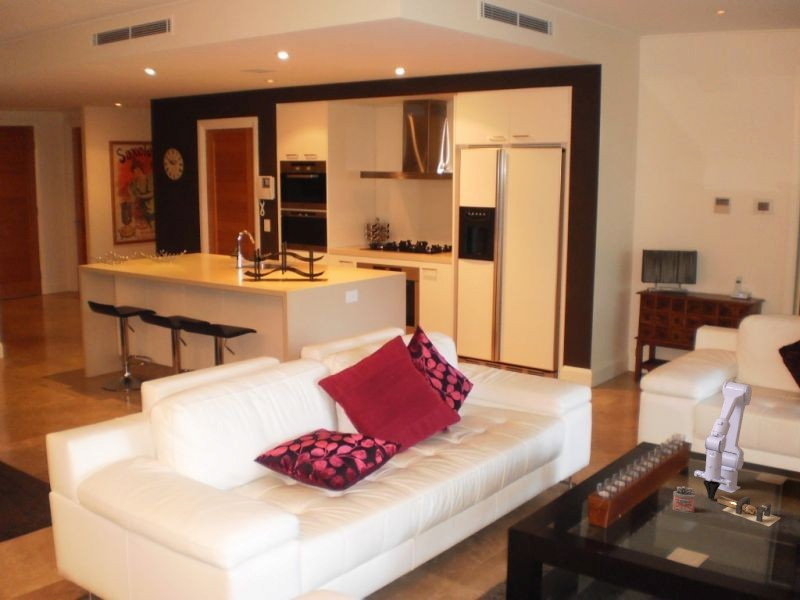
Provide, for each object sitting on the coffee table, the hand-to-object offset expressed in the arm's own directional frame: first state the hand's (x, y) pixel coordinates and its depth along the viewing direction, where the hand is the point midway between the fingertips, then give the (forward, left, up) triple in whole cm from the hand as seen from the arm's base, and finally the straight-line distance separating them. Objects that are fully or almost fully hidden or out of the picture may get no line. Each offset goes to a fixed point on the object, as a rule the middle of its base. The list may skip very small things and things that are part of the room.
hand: (711, 498), depth 329 cm
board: (+16, 0, -1) cm, 16 cm away
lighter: (-3, -16, -2) cm, 16 cm away
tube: (+10, 0, -1) cm, 10 cm away
